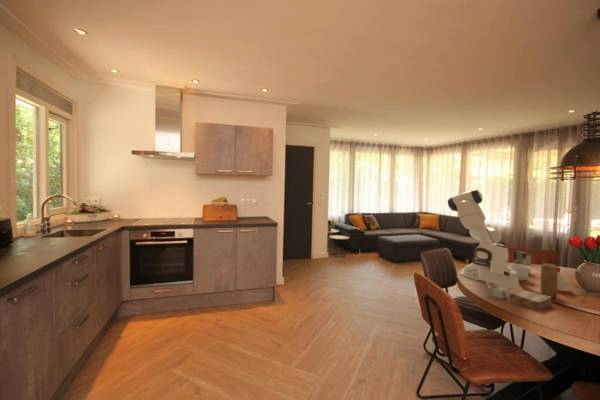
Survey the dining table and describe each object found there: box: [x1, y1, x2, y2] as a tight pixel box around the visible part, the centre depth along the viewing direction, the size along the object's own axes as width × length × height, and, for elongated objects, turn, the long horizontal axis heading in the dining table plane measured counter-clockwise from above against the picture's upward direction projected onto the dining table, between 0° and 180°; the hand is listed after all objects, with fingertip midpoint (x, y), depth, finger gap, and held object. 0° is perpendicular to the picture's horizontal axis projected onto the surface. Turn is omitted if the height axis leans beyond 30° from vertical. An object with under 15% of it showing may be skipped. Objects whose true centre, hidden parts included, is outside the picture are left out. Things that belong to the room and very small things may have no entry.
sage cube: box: [492, 286, 508, 299], centre depth 170 cm, size 5×5×5 cm
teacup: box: [509, 262, 532, 281], centre depth 203 cm, size 12×15×10 cm
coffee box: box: [513, 250, 532, 274], centre depth 219 cm, size 9×6×16 cm
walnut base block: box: [509, 289, 552, 311], centre depth 159 cm, size 14×14×5 cm
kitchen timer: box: [557, 266, 572, 294], centre depth 181 cm, size 14×14×15 cm
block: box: [540, 262, 558, 298], centre depth 170 cm, size 11×8×20 cm
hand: (498, 291), depth 170 cm, fingers open, 8 cm apart
